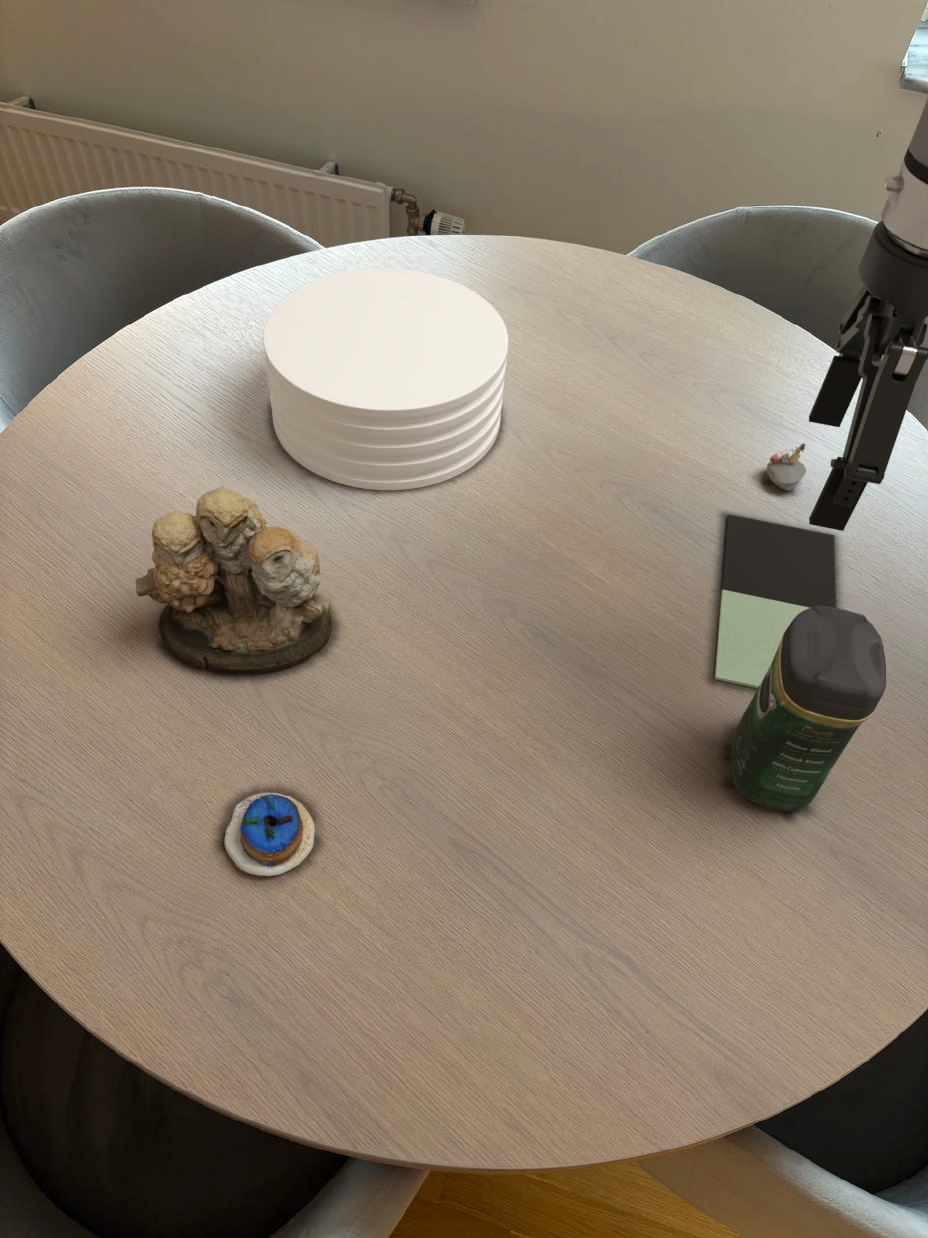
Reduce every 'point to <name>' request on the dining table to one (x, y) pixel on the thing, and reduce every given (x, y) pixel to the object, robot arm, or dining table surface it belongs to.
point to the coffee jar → (808, 707)
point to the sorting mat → (767, 592)
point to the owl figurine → (235, 588)
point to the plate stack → (385, 377)
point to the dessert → (269, 834)
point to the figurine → (786, 469)
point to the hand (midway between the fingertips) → (824, 470)
